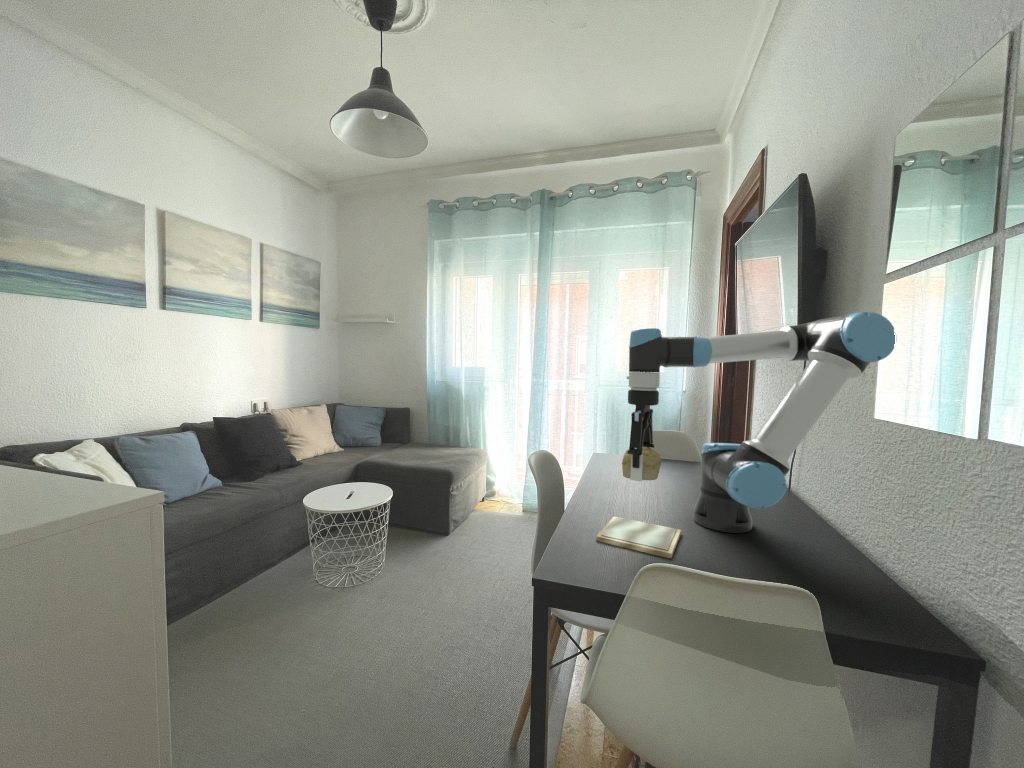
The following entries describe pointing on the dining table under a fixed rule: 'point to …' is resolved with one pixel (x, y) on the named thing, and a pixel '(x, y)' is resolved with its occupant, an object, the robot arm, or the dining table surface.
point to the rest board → (640, 536)
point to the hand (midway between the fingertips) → (640, 475)
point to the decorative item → (649, 464)
